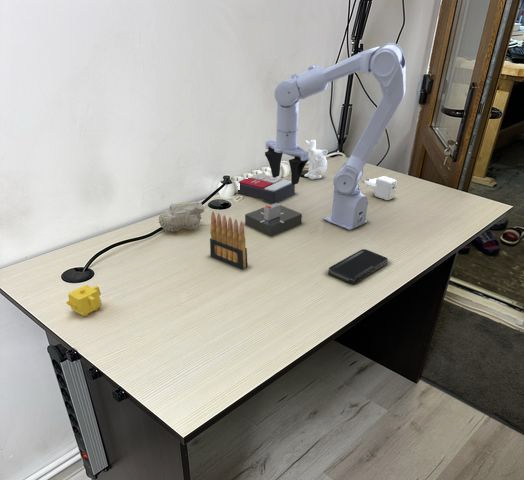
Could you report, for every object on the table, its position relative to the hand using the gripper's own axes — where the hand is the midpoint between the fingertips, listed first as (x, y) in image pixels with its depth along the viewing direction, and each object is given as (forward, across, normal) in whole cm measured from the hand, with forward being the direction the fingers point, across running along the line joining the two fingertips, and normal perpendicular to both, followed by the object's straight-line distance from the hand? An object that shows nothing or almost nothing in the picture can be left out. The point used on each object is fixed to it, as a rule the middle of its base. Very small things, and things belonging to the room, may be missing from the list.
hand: (285, 180), depth 141 cm
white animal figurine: (+10, -13, +28) cm, 32 cm away
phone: (+9, +36, -11) cm, 39 cm away
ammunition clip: (+10, +12, -32) cm, 35 cm away
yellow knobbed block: (+10, +8, -68) cm, 69 cm away
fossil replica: (+10, -11, -29) cm, 32 cm away
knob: (+6, +6, -11) cm, 13 cm away
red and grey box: (+10, -14, +6) cm, 18 cm away
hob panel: (+9, +4, -8) cm, 13 cm away
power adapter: (+10, +11, +31) cm, 34 cm away
